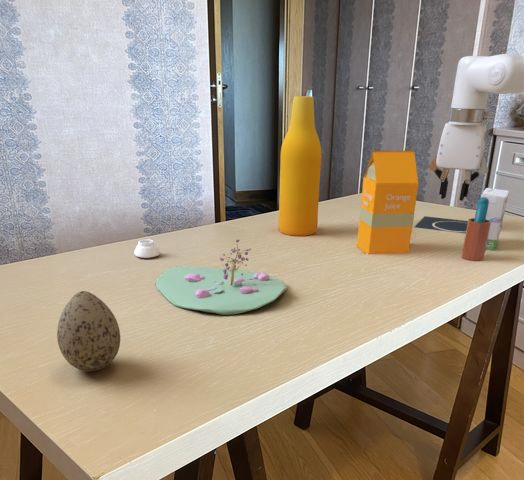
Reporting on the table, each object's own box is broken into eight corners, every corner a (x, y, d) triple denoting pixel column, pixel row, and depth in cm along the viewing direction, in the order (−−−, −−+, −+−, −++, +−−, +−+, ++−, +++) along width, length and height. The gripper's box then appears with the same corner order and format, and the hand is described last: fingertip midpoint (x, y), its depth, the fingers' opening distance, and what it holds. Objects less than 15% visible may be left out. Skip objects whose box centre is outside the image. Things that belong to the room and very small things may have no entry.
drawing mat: (496, 225, 134) (497, 223, 134) (490, 240, 121) (491, 238, 121) (424, 217, 141) (424, 215, 141) (411, 230, 128) (411, 228, 128)
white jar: (145, 250, 110) (129, 256, 106) (144, 236, 109) (127, 242, 105) (164, 254, 108) (149, 260, 104) (163, 240, 106) (148, 246, 103)
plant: (118, 293, 88) (112, 239, 84) (193, 261, 104) (191, 215, 100) (246, 326, 77) (246, 266, 73) (308, 285, 93) (311, 234, 89)
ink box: (494, 252, 112) (507, 196, 107) (470, 249, 114) (481, 193, 109) (498, 243, 119) (510, 189, 114) (475, 240, 121) (485, 187, 116)
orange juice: (408, 255, 110) (423, 152, 101) (368, 256, 109) (379, 153, 100) (394, 244, 117) (407, 148, 108) (356, 245, 115) (365, 148, 106)
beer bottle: (270, 231, 126) (273, 95, 113) (294, 224, 132) (300, 95, 119) (300, 238, 120) (307, 97, 107) (324, 231, 126) (334, 96, 113)
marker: (478, 257, 107) (490, 196, 102) (476, 259, 106) (489, 198, 100) (467, 255, 108) (479, 195, 103) (466, 258, 107) (478, 197, 101)
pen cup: (483, 258, 108) (492, 219, 105) (481, 264, 105) (490, 224, 101) (462, 256, 110) (469, 217, 106) (459, 261, 106) (467, 221, 103)
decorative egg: (57, 362, 66) (43, 287, 62) (114, 350, 69) (104, 277, 65) (70, 388, 61) (56, 308, 56) (131, 373, 64) (122, 296, 59)
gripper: (506, 118, 121) (489, 199, 130) (432, 115, 128) (421, 193, 136) (504, 119, 115) (486, 205, 124) (426, 116, 122) (415, 198, 130)
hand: (452, 198), depth 130 cm, fingers open, 3 cm apart
